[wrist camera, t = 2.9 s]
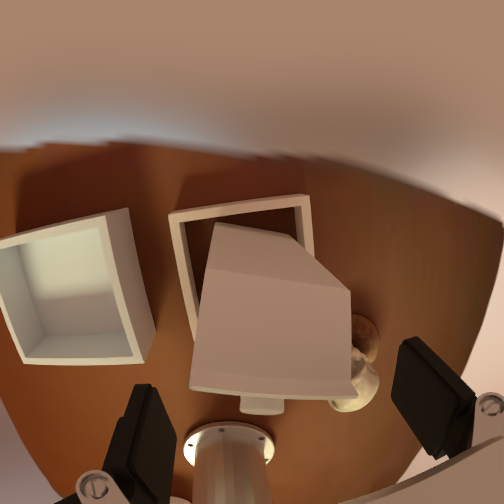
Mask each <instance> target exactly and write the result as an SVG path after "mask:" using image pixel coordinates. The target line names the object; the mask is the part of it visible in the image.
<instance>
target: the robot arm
mask: <svg viewBox="0 0 504 504" xmlns="http://www.w3.org/2000/svg"><path fill="white" fill-rule="evenodd" d="M391 398H392V401H393V403H394V404H395V406H396V407H397V409H398V410H399V412H400V413H401V414H402V416H403V417H404V419H405V420H406V422H407V423H408V425H409V426H410V428H411V429H412V431H413V433H414V434H415V436H416V437H417V439H418V440H419V442H420V443H421V445H422V446H423V448H424V449H425V451H426V452H427V454H428V455H430V456H431V455H432V456H433V457H434V458H435V460H437V459H439V458H441V457H443V456H445V455H446V454H447V456H448V457H449V460H447V461H445V462H443V463H441V464H439V465H437V466H435V467H433V468H431V469H429V470H427V471H425V472H423V473H421V474H418V475H416V476H414V477H412V478H409V479H407V480H405V481H403V482H400V483H397V484H395V485H392V486H390V487H387V488H384V489H382V490H379V491H376V492H373V493H370V494H368V495H365V496H362V497H358V498H355V499H352V500H349V501H345V502H342V503H338V504H504V397H503V396H502V395H500V394H498V393H493V392H488V393H484V394H482V395H481V396H479V397H478V398H477V397H476V396H475V392H473V390H472V389H471V388H469V386H468V385H467V384H466V383H465V382H464V381H463V380H462V379H461V378H460V377H459V376H458V375H457V374H456V373H455V372H454V371H453V370H452V369H451V368H450V367H449V366H448V365H447V364H446V363H445V362H444V361H443V360H442V359H441V358H440V357H439V356H437V355H436V354H435V353H434V352H433V351H432V350H431V349H430V348H429V347H428V346H427V345H426V344H425V343H424V342H423V341H422V340H421V339H420V338H419V337H417V336H415V337H412V338H409V339H406V340H404V341H403V342H402V344H401V345H400V346H399V351H398V357H397V364H396V369H395V375H394V381H393V386H392V391H391ZM176 442H177V437H176V433H175V430H174V428H173V426H172V424H171V421H170V419H169V417H168V415H167V412H166V410H165V407H164V405H163V403H162V400H161V398H160V395H159V393H158V390H157V388H156V387H152V385H151V384H136V385H135V386H134V388H133V391H132V394H131V396H130V399H129V402H128V405H127V408H126V411H125V414H124V417H120V418H119V420H118V422H117V425H116V427H115V430H114V433H113V436H112V439H111V442H110V445H109V448H108V452H107V455H106V458H105V461H104V464H103V467H102V471H100V470H92V471H88V472H86V473H84V474H83V475H81V476H80V478H79V479H78V480H77V483H76V493H74V494H72V495H70V496H68V497H67V498H65V499H62V500H61V501H58V502H56V503H54V504H170V496H171V486H172V476H173V467H174V459H175V450H176ZM183 450H184V455H185V457H186V459H187V460H188V461H189V462H190V463H191V464H192V465H193V466H194V472H193V492H192V504H273V502H272V497H271V491H270V485H269V479H268V474H267V468H266V464H267V463H268V462H269V461H270V460H271V459H272V457H273V455H274V451H275V447H274V442H273V440H272V438H271V436H270V435H269V434H268V433H267V432H266V431H264V430H263V429H261V428H259V427H257V426H255V425H252V424H248V423H243V422H237V421H223V422H215V423H209V424H206V425H203V426H201V427H199V428H197V429H195V430H193V431H192V432H191V433H189V435H188V436H187V437H186V439H185V442H184V449H183Z"/></svg>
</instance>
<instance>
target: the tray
mask: <svg viewBox="0 0 504 504" xmlns="http://www.w3.org/2000/svg"><path fill="white" fill-rule="evenodd" d="M287 207H294V213H295V223H296V233H297V242H298V243H299V244H300V245H301V246H302V247H303V248H304V249H305V250H306V251H307V252H309V253H310V254H311V255H312V256H313V257H314V258H315V255H314V242H313V230H312V218H311V207H310V197H309V195H305V194H292V195H283V196H275V197H267V198H259V199H251V200H244V201H236V202H229V203H222V204H215V205H209V206H202V207H195V208H189V209H183V210H177V211H173V212H171V213H170V214H169V215H168V218H169V224H170V230H171V236H172V241H173V247H174V252H175V257H176V263H177V268H178V273H179V278H180V283H181V287H182V292H183V297H184V301H185V306H186V310H187V315H188V319H189V323H190V327H191V332H192V336H193V340H194V341H195V336H196V329H197V322H198V315H199V308H200V306H199V301H198V296H197V291H196V286H195V281H194V276H193V270H192V265H191V259H190V254H189V248H188V243H187V237H186V231H185V225H184V222H187V221H193V220H200V219H206V218H213V217H220V216H227V215H234V214H241V213H248V212H256V211H263V210H271V209H279V208H287Z"/></svg>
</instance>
